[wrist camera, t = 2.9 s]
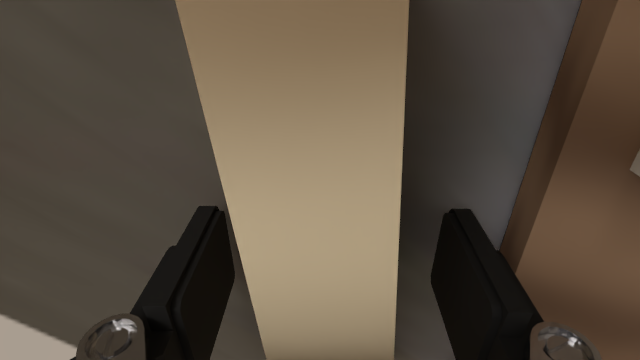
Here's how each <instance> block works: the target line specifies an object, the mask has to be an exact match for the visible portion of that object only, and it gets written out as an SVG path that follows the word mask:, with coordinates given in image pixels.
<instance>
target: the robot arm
mask: <svg viewBox="0 0 640 360" xmlns="http://www.w3.org/2000/svg"><path fill="white" fill-rule="evenodd" d="M234 278H235V271H234V265H233V259H232V253H231V247H230V241H229V236H228V230H227V224H226V218H225V213H224V211H219V208H218V207H217V206H199V207H198V208H197V210H196V212H195V213H194V215H193V217H192V219H191V220H190V222H189V224H188V226H187V227H186V229H185V231H184V233H183V234H182V236H181V238H180V240H179V242H178V243H177V245H176V246H171V247H170V248H169V249H168V250H167V251H166V253H165V255H164V257H163V258H162V260H161V262H160V263H159V265H158V267H157V268H156V270H155V272H154V273H153V275H152V277H151V279H150V280H149V282H148V284H147V285H146V287H145V289H144V290H143V292H142V294H141V295H140V297H139V299H138V301H137V302H136V304H135V306H134V307H133V309H132V311H131V312H130V314H118V315H114V316H111V317H108V318H106V319H104V320H102V321H100V322H99V323H97V324H96V325H94V326H93V327H92V328H91V329H90V330H89V331H87V332H86V333H85V335H84V336H83V338H82V339H81V341H80V342H79V345H78V348H77V353H76V357H74V358H72V359H70V360H210V356H211V353H212V350H213V347H214V344H215V340H216V337H217V334H218V331H219V328H220V324H221V321H222V318H223V315H224V312H225V309H226V305H227V302H228V299H229V296H230V293H231V289H232V286H233V283H234ZM431 284H432V288H433V291H434V294H435V297H436V300H437V303H438V306H439V309H440V312H441V315H442V318H443V321H444V324H445V328H446V331H447V334H448V337H449V340H450V343H451V346H452V349H453V352H454V355H455V358H456V360H602V358H601V355H600V353H599V351H598V350H597V348H596V347H595V346H594V344H593V343H592V342H591V341H590V340H589V339H588V338H586V337H585V336H584V335H583V334H581V333H580V332H578V331H577V330H575V329H573V328H571V327H569V326H566V325H564V324H561V323H556V322H544V320H543V319H542V317H541V316H540V314H539V312H538V311H537V309H536V307H535V306H534V304H533V303H532V301H531V299H530V298H529V296H528V294H527V293H526V291H525V290H524V288H523V286H522V285H521V283H520V281H519V280H518V278H517V277H516V275H515V273H514V272H513V270H512V268H511V267H510V265H509V264H508V262H507V260H506V259H505V257H504V256H503V254H502V253H501V252H499V251H498V250H495V249H494V247H493V245H492V244H491V242H490V240H489V239H488V237H487V235H486V234H485V232H484V230H483V229H482V227H481V225H480V224H479V222H478V220H477V219H476V217H475V215H474V214H473V212H472V211H471V210H470V209H451V210H450V212H449V213H445V214H444V216H443V220H442V225H441V230H440V234H439V239H438V244H437V249H436V253H435V258H434V263H433V267H432V272H431Z"/></svg>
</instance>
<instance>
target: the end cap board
mask: <svg viewBox="0 0 640 360" xmlns="http://www.w3.org/2000/svg"><path fill="white" fill-rule="evenodd" d="M499 252H501V253H502V254H503V256H504V257H505V259H506V260H507V262H508V264H509V265H510V267H511V268H512V270H513V272H514V273H515V275H516V277H517V278H518V280H519V281H520V283H521V285H522V286H523V288H524V290H525V291H526V293H527V294H528V296H529V298H530V299H531V301H532V303H533V304H534V306H535V307H536V309H537V311H538V312H539V314H540V316H541V317H542V319H543V320H544V322H556V323H561V324H564V325H566V326H569V327H571V328H573V329H575V330H577V331H578V332H580V333H581V334H583V335H584V336H585V337H586V338H588V339H589V340H590V341H591V342H592V343H593V344H594V346H595V347H596V348H597V350H598V351H599V353H600V355H601V358H602V360H640V0H582V3H581V6H580V9H579V12H578V15H577V18H576V21H575V24H574V27H573V30H572V33H571V36H570V39H569V42H568V45H567V48H566V51H565V54H564V57H563V60H562V63H561V66H560V69H559V72H558V75H557V78H556V81H555V84H554V87H553V90H552V93H551V96H550V99H549V102H548V105H547V108H546V112H545V115H544V118H543V121H542V124H541V127H540V130H539V133H538V136H537V139H536V142H535V145H534V148H533V151H532V154H531V157H530V160H529V163H528V166H527V169H526V172H525V175H524V178H523V181H522V184H521V187H520V190H519V193H518V196H517V199H516V202H515V205H514V208H513V211H512V214H511V217H510V220H509V224H508V227H507V230H506V233H505V236H504V239H503V242H502V245H501V248H500V251H499Z"/></svg>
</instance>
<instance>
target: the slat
mask: <svg viewBox="0 0 640 360" xmlns="http://www.w3.org/2000/svg"><path fill="white" fill-rule="evenodd" d="M175 2H176V6H177V10H178V14H179V18H180V22H181V25H182V29H183V33H184V37H185V41H186V45H187V49H188V53H189V57H190V61H191V65H192V69H193V73H194V77H195V81H196V84H197V88H198V92H199V96H200V100H201V104H202V108H203V112H204V116H205V120H206V124H207V128H208V132H209V136H210V139H211V143H212V147H213V151H214V155H215V159H216V163H217V167H218V171H219V175H220V179H221V183H222V187H223V191H224V195H225V198H226V202H227V206H228V210H229V214H230V218H231V222H232V226H233V230H234V234H235V238H236V242H237V246H238V250H239V253H240V257H241V261H242V265H243V269H244V273H245V277H246V281H247V285H248V289H249V293H250V297H251V301H252V305H253V309H254V312H255V316H256V320H257V324H258V328H259V332H260V336H261V340H262V344H263V348H264V352H265V356H266V360H394V344H395V321H396V297H397V274H398V251H399V227H400V204H401V181H402V157H403V134H404V111H405V87H406V64H407V41H408V17H409V0H175Z"/></svg>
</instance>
